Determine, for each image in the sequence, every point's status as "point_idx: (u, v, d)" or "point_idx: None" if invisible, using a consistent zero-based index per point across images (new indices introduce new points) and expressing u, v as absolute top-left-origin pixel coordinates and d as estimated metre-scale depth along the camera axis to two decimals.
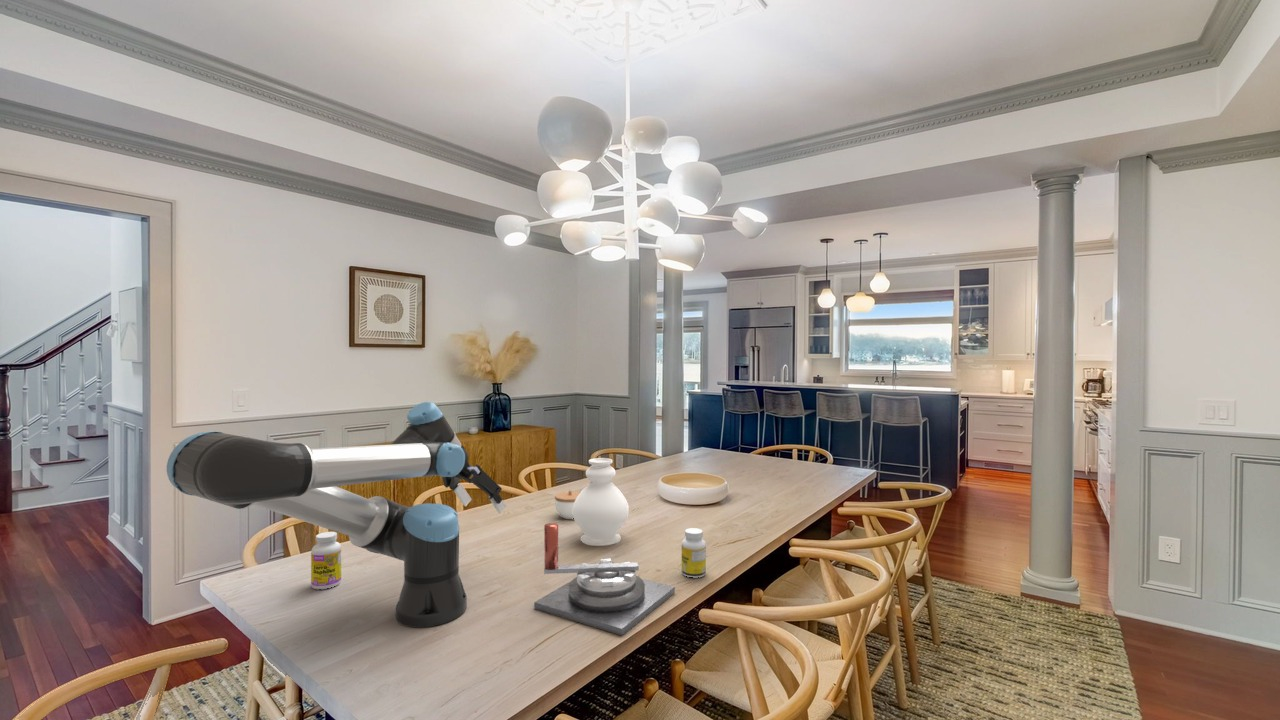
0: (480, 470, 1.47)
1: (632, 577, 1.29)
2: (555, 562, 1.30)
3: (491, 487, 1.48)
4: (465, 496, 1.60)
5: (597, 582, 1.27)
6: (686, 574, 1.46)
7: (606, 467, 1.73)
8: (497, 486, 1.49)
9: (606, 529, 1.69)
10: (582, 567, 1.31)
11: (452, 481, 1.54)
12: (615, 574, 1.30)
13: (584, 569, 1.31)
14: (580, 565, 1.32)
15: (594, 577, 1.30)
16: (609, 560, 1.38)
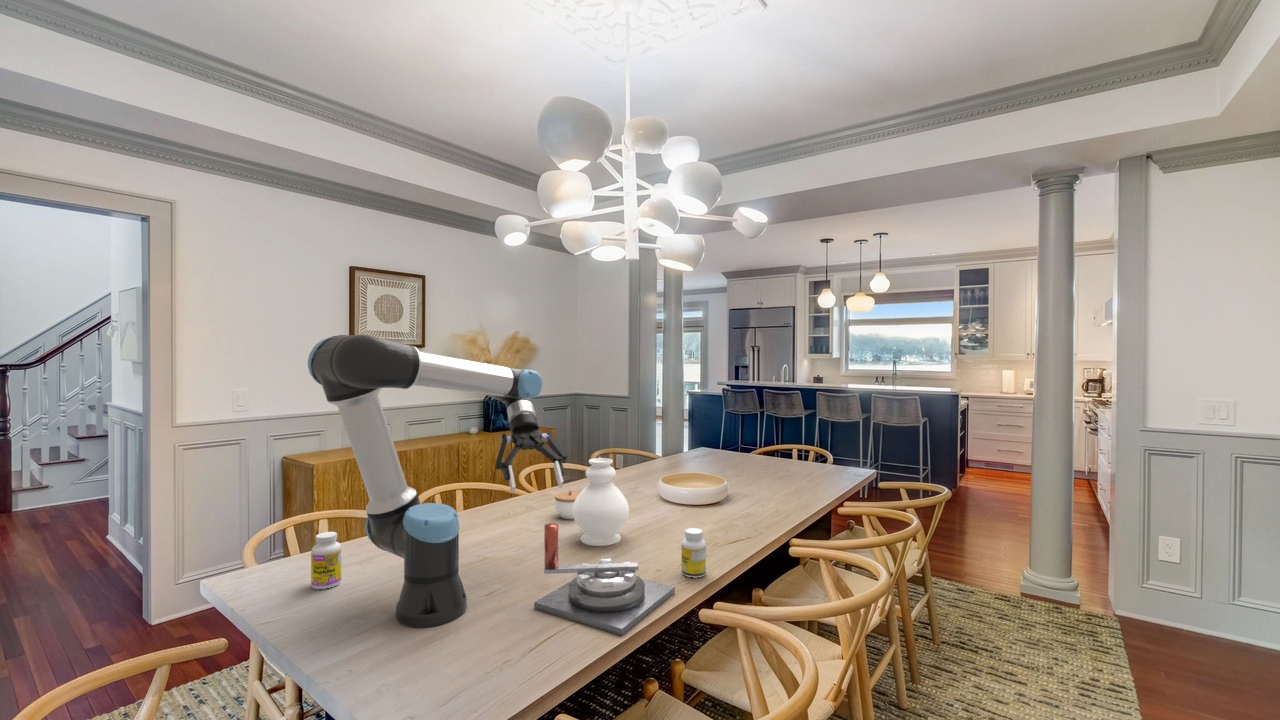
0: None
1: (632, 577, 1.29)
2: (555, 562, 1.30)
3: None
4: None
5: (597, 582, 1.27)
6: (686, 574, 1.46)
7: (606, 467, 1.73)
8: None
9: (606, 529, 1.69)
10: (582, 567, 1.31)
11: (513, 451, 1.46)
12: (615, 574, 1.30)
13: (584, 569, 1.31)
14: (580, 565, 1.32)
15: (594, 577, 1.30)
16: (609, 560, 1.38)
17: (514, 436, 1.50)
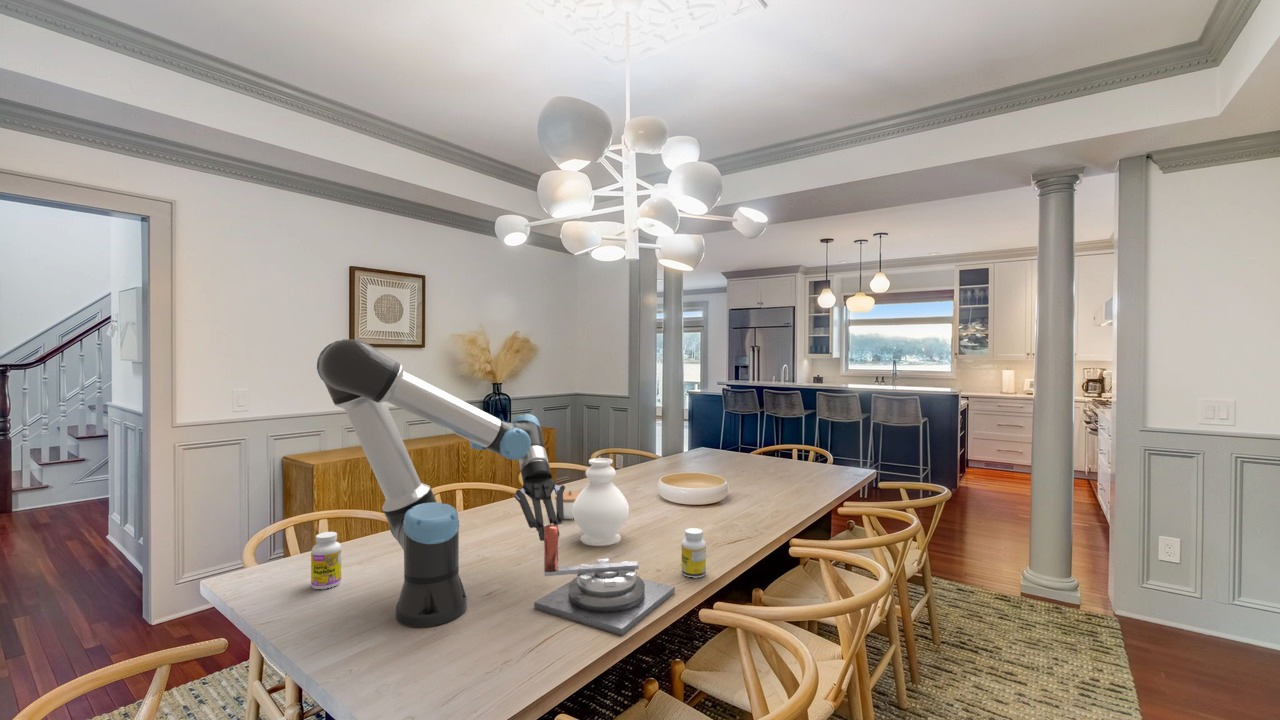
0: None
1: (633, 576, 1.29)
2: (555, 563, 1.29)
3: None
4: None
5: (599, 582, 1.27)
6: (686, 574, 1.46)
7: (606, 467, 1.73)
8: None
9: (606, 529, 1.69)
10: (582, 568, 1.31)
11: (538, 506, 1.38)
12: (616, 574, 1.31)
13: (585, 570, 1.30)
14: (580, 566, 1.32)
15: (595, 577, 1.30)
16: (607, 560, 1.38)
17: (527, 487, 1.41)
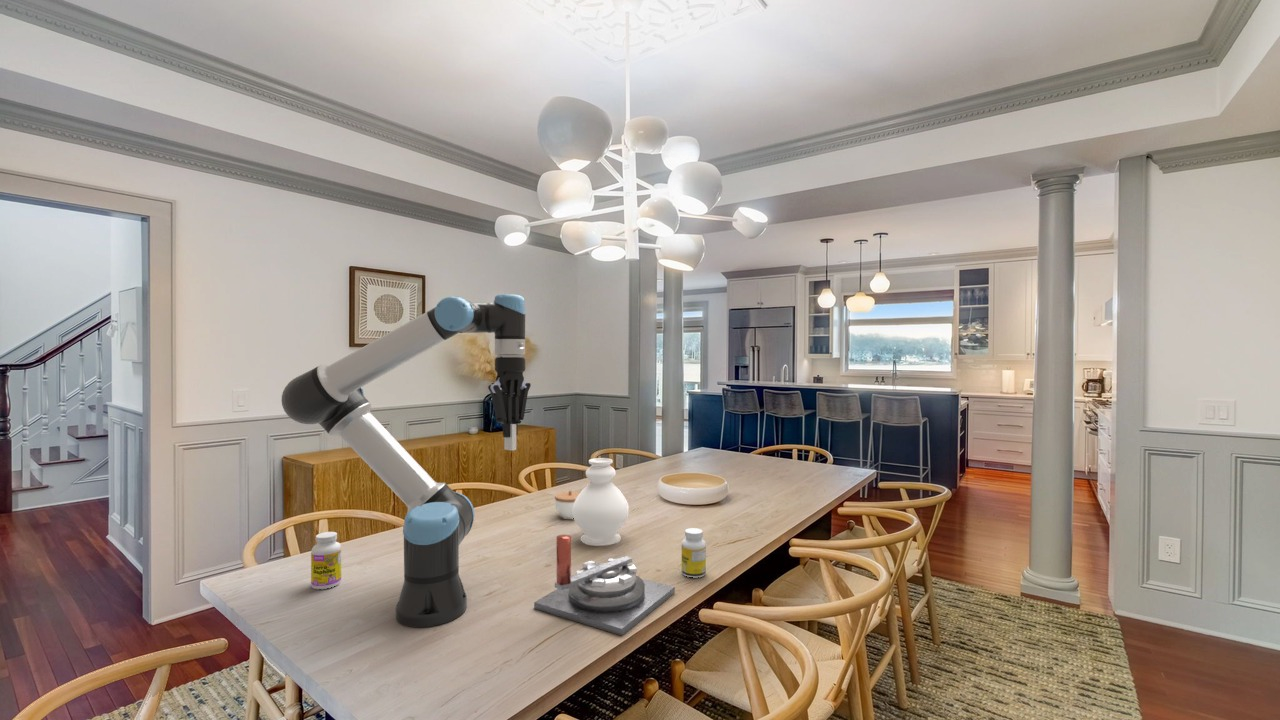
0: (496, 392, 1.36)
1: None
2: None
3: (496, 412, 1.37)
4: None
5: (614, 582, 1.27)
6: (686, 574, 1.46)
7: (606, 467, 1.73)
8: (501, 417, 1.37)
9: (606, 529, 1.69)
10: (590, 573, 1.28)
11: None
12: (619, 571, 1.32)
13: (593, 574, 1.28)
14: (585, 572, 1.28)
15: None
16: (592, 562, 1.37)
17: None
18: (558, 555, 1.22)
